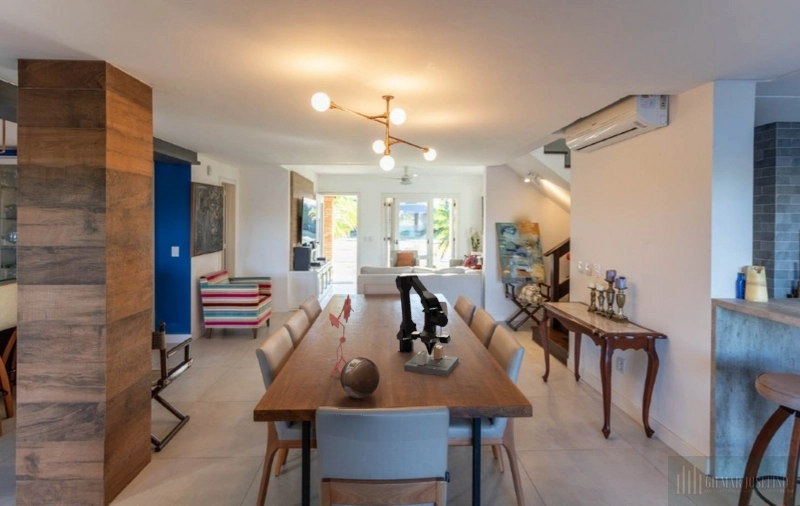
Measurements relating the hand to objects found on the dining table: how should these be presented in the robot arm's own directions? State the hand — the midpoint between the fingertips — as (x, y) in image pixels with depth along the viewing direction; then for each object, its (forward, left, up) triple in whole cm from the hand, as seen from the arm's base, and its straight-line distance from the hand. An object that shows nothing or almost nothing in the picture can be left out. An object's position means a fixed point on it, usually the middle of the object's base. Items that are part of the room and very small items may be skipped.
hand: (430, 355), depth 207 cm
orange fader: (+4, 0, -1) cm, 4 cm away
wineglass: (-7, +43, -4) cm, 44 cm away
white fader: (0, -11, -1) cm, 11 cm away
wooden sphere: (-12, -49, -4) cm, 51 cm away
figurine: (-29, -27, -4) cm, 40 cm away
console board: (+3, -5, -4) cm, 7 cm away
